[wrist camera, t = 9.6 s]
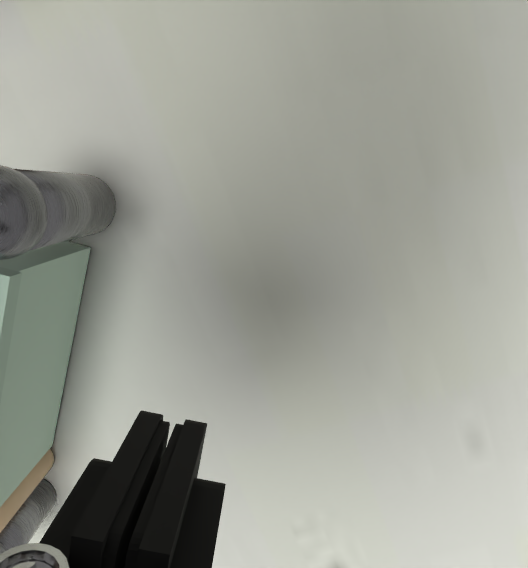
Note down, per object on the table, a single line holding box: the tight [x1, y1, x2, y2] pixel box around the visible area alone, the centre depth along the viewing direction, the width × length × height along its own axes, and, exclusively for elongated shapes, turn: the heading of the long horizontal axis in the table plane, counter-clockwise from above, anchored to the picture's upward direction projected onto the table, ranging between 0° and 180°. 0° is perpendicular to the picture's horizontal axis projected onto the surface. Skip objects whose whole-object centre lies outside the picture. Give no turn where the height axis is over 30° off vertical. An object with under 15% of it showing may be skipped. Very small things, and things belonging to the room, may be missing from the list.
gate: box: [0, 241, 91, 533], centre depth 21 cm, size 14×2×8 cm, turn 165°
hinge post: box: [0, 165, 115, 260], centre depth 19 cm, size 3×3×10 cm
